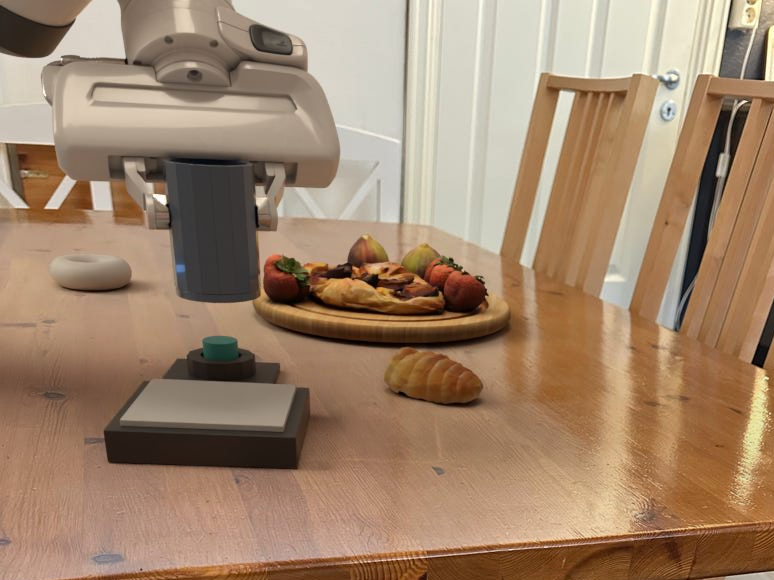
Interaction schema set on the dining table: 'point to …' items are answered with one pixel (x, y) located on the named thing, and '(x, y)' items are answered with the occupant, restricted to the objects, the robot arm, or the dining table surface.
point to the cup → (213, 229)
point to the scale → (210, 424)
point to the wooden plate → (380, 297)
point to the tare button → (220, 348)
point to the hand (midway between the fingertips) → (215, 225)
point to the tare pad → (223, 369)
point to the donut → (90, 271)
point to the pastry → (431, 377)
